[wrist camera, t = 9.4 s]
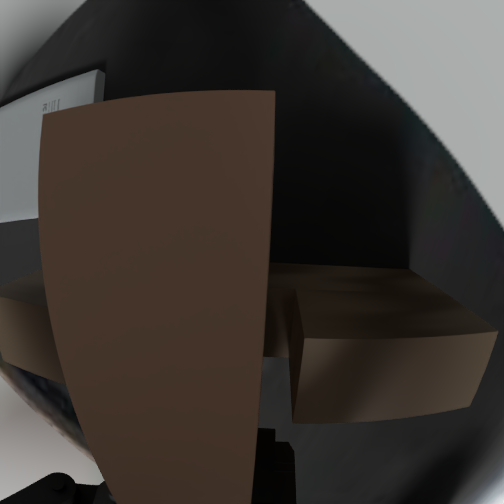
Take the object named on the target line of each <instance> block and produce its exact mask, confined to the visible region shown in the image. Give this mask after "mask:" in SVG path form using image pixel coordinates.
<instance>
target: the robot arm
mask: <svg viewBox="0 0 504 504" xmlns="http://www.w3.org/2000/svg"><path fill="white" fill-rule="evenodd" d="M0 504H117V503H116V501H115V499H114V497H113V495H112V494H111V492H110V490H109V488H108V486H107V484H106V482H105V481H103V482H102V483H101V484H100V485H86V484H77V483H75V481H74V480H73V479H72V478H71V477H70V476H69V475H67V474H65V473H51V474H50V475H48V476H46V477H44V478H42V479H40V480H38V481H37V482H35V483H33V484H31V485H29V486H28V487H26V488H24V489H22V490H20V491H18V492H16V493H15V494H13V495H11V496H9V497H7V498H5V499H3V500H1V501H0ZM251 504H296V482H295V457H294V450H293V449H292V447H291V446H290V444H289V442H275V429H268V428H258V432H257V444H256V455H255V466H254V477H253V488H252V498H251Z"/></svg>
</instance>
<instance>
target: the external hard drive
mask: <svg viewBox="0 0 504 504" xmlns="http://www.w3.org/2000/svg"><path fill="white" fill-rule="evenodd" d="M104 84H105V73H103V72H102V71H100V70H98V69H97V70H94V71H90V72H87V73H84V74H81V75H78V76H75V77H72V78H69V79H66V80H64V81H61V82H58V83H55V84H53V85H50V86H48V87H45V88H43V89H40V90H38V91H35V92H33V93H31V94H29V95H26V96H24V97H22V98H20V99H17V100H15V101H13V102H11V103H9V104H7V105H5V106H3V107H1V108H0V223H2V222H9V221H16V220H24V219H32V218H38V169H39V150H40V138H41V127H42V119H43V114H46V113H50V112H54V111H59V110H63V109H67V108H72V107H76V106H81V105H86V104H91V103H97V102H103V98H104Z"/></svg>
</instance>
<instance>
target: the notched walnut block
mask: <svg viewBox="0 0 504 504" xmlns="http://www.w3.org/2000/svg"><path fill="white" fill-rule="evenodd" d="M497 334H498V331H497V330H496V329H495V328H493V327H492V326H491V325H489V324H488V323H487V322H485V321H484V320H482V319H481V318H480V317H478V316H477V315H476V314H474V313H473V312H471V311H470V310H469V309H467V308H466V307H464V306H463V305H462V304H460V303H459V302H457V301H456V300H455V299H453V298H452V297H450V296H449V295H447V294H446V293H444V292H443V291H441V290H440V289H439V288H437V287H436V286H434V285H433V284H431V283H430V282H428V281H427V280H425V279H424V278H422V277H421V276H419V275H418V274H416V273H415V272H413V271H411V270H410V269H394V268H371V267H350V266H330V265H310V264H290V263H272V262H269V272H268V287H267V303H266V319H265V335H264V350H263V357H280V358H289V368H290V385H291V404H292V423H298V424H322V423H351V422H367V421H379V420H389V419H398V418H406V417H413V416H420V415H427V414H433V413H438V412H444V411H449V410H454V409H459V408H464V407H468V406H470V404H471V402H472V400H473V397H474V395H475V393H476V391H477V388H478V386H479V384H480V381H481V379H482V376H483V374H484V371H485V369H486V366H487V363H488V361H489V358H490V355H491V352H492V349H493V346H494V343H495V340H496V337H497ZM0 351H1V354H2V357H3V360H4V361H5V362H8V363H10V364H12V365H15V366H17V367H19V368H22V369H24V370H27V371H29V372H32V373H34V374H37V375H40V376H42V377H45V378H48V379H50V380H53V381H56V382H59V383H62V384H65V385H66V382H65V378H64V375H63V371H62V368H61V364H60V360H59V356H58V352H57V348H56V344H55V340H54V335H53V331H52V326H51V321H50V316H49V310H48V305H47V299H46V292H45V285H44V278H43V270H42V269H41V270H38V271H36V272H33V273H31V274H28V275H26V276H24V277H21V278H19V279H17V280H14V281H12V282H10V283H7V284H5V285H3V286H0Z"/></svg>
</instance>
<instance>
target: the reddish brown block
mask: <svg viewBox="0 0 504 504" xmlns="http://www.w3.org/2000/svg"><path fill="white" fill-rule="evenodd" d="M274 142H275V91H264V90H212V91H190V92H175V93H163V94H153V95H144V96H136V97H128V98H121V99H115V100H109V101H103V102H97V103H91V104H86V105H81V106H76V107H72V108H67V109H63V110H59V111H54V112H50V113H46V114H43V119H42V127H41V138H40V150H39V169H38V218H39V237H40V250H41V261H42V270H43V278H44V285H45V292H46V299H47V305H48V310H49V316H50V321H51V326H52V331H53V335H54V340H55V344H56V348H57V352H58V356H59V360H60V364H61V368H62V371H63V375H64V378H65V382H66V385H67V388H68V391H69V394H70V397H71V400H72V403H73V406H74V409H75V412H76V415H77V418H78V420H79V423H80V426H81V428H82V431H83V433H84V436H85V438H86V441H87V443H88V445H89V448H90V450H91V452H92V455H93V457H94V459H95V461H96V464H97V466H98V468H99V470H100V472H101V474H102V476H103V478H104V480H105V482H106V484H107V486H108V488H109V490H110V492H111V494H112V495H113V497H114V499H115V501H116V503H117V504H251V498H252V488H253V477H254V466H255V455H256V444H257V432H258V421H259V409H260V396H261V382H262V364H263V350H264V335H265V319H266V303H267V287H268V272H269V257H270V238H271V218H272V198H273V175H274Z"/></svg>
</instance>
